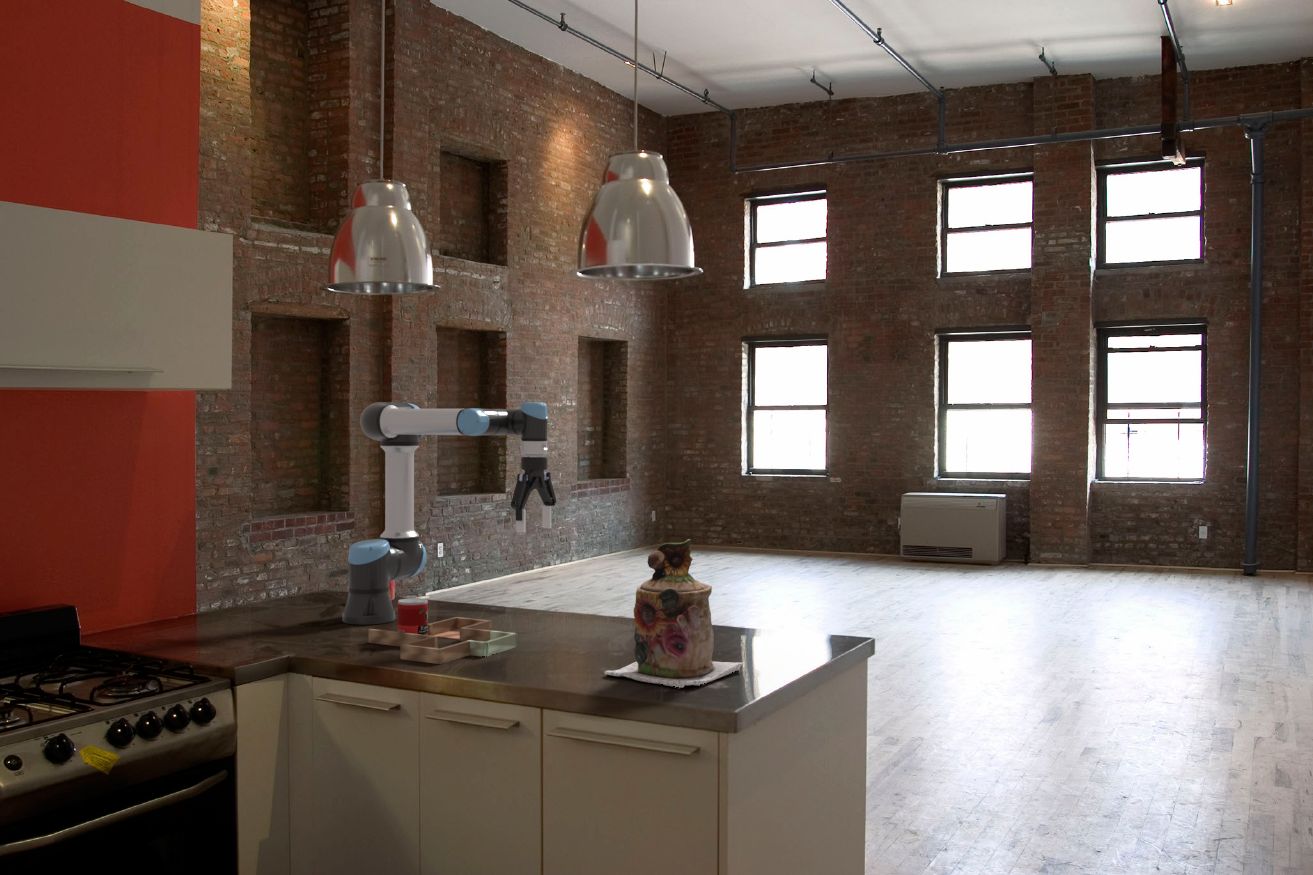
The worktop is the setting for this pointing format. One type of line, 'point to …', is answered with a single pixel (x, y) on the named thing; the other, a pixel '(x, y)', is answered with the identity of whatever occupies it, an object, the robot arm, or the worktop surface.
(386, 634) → the channel
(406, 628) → the canned food
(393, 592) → the soda can
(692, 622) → the cookie jar
